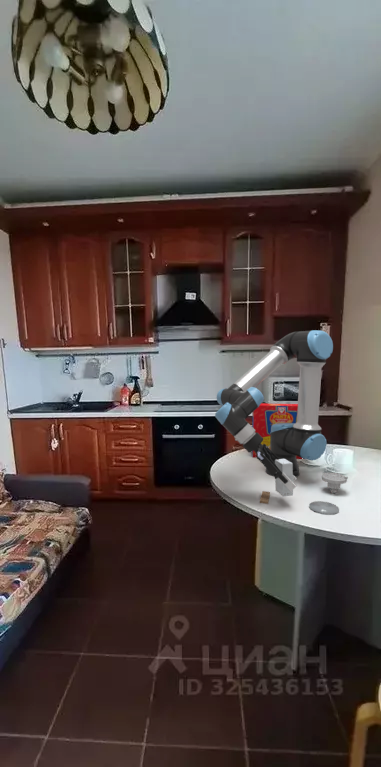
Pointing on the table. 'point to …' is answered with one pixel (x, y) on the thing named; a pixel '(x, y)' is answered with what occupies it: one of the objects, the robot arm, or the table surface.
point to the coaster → (324, 507)
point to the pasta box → (272, 419)
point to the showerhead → (334, 480)
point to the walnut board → (265, 497)
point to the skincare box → (287, 469)
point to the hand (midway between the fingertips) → (293, 484)
